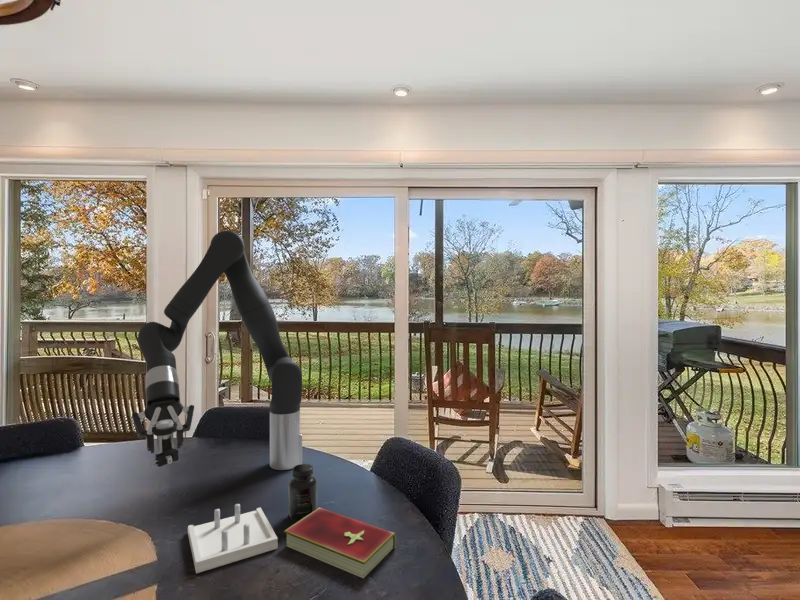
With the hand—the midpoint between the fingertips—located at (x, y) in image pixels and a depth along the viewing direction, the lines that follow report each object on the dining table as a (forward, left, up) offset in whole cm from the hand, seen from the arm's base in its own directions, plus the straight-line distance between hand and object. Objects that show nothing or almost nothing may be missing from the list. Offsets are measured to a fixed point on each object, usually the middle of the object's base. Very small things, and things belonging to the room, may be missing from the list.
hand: (166, 449), depth 102 cm
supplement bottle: (-29, +13, -18) cm, 36 cm away
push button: (0, -2, -4) cm, 5 cm away
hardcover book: (-31, +29, -18) cm, 47 cm away
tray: (-12, +15, -18) cm, 26 cm away
